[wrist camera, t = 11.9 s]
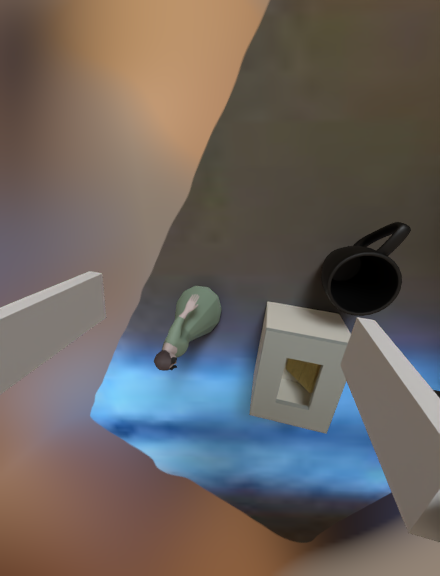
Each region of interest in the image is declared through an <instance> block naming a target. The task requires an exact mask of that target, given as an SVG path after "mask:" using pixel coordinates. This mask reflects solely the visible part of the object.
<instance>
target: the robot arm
mask: <svg viewBox="0 0 440 576" xmlns="http://www.w3.org/2000/svg"><path fill="white" fill-rule="evenodd" d="M105 318H106V313H105V301H104V289H103V277H102V273H96V272H91V271H90V272H87V273H85V274H82V275H80V276H77V277H75V278H72V279H70V280H67V281H65V282H62V283H60V284H57V285H55V286H52V287H50V288H47V289H45V290H42V291H40V292H38V293H35V294H33V295H30V296H28V297H26V298H23V299H20V300H18V301H15V302H13V303H11V304H8V305H6V306H3V307H1V308H0V395H1V394H2V393H3V392H5V391H6V390H7V389H9V388H10V387H12V386H13V385H14V384H16V383H17V382H18V381H20V380H21V379H23V378H24V377H25V376H27V375H28V374H29V373H31V372H32V371H34V370H35V369H36V368H38V367H39V366H40V365H42V364H43V363H44V362H46V361H47V360H48V359H50V358H51V357H53V356H54V355H55V354H57V353H58V352H60V351H61V350H62V349H64V348H65V347H67V346H68V345H69V344H70V343H72V342H73V341H75V340H76V339H78V338H79V337H80V336H82V335H83V334H84V333H86V332H87V331H88V330H90V329H91V328H93V327H94V326H95V325H97V324H98V323H100V322H101V321H102V320H104V319H105ZM340 366H341V368H342V371H343V373H344V376H345V378H346V381H347V383H348V386H349V388H350V391H351V393H352V395H353V398H354V400H355V403H356V405H357V408H358V410H359V413H360V415H361V418H362V420H363V423H364V425H365V427H366V430H367V432H368V435H369V437H370V440H371V442H372V445H373V447H374V450H375V452H376V455H377V457H378V459H379V462H380V464H381V467H382V469H383V472H384V474H385V477H386V479H387V482H388V484H389V487H390V489H391V491H392V494H393V496H394V499H395V501H396V503H397V506H398V509H399V511H400V513H401V516H402V518H403V521H404V523H405V526H406V528H407V530H408V533H411V534H414V535H417V536H421V537H424V538H428V539H431V540H434V541H438V542H440V391H436V390H432V388H431V387H430V386H429V385H428V384H427V382H426V381H425V380H424V379H423V378H422V376H421V375H420V374H419V373H418V372H417V370H416V369H415V368H414V367H413V366H412V364H411V363H410V362H409V361H408V360H407V358H406V357H405V356H404V355H403V354H402V352H401V351H400V350H399V349H398V348H397V346H396V345H395V344H394V343H393V342H392V340H391V339H390V338H389V337H388V336H387V334H386V333H385V332H384V331H383V330H382V328H381V327H380V326H379V325H378V324H377V322H376V321H375V320H370V319H364V318H358V317H357V319H356V322H355V324H354V327H353V330H352V333H351V336H350V339H349V341H348V344H347V347H346V350H345V353H344V356H343V358H342V361H341V364H340Z"/></svg>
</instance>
